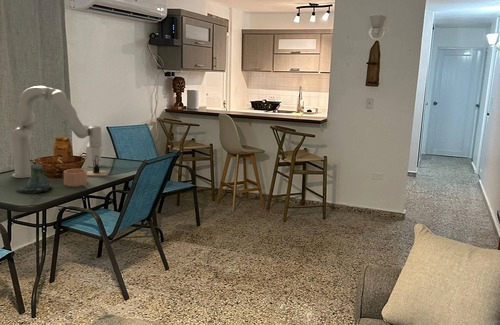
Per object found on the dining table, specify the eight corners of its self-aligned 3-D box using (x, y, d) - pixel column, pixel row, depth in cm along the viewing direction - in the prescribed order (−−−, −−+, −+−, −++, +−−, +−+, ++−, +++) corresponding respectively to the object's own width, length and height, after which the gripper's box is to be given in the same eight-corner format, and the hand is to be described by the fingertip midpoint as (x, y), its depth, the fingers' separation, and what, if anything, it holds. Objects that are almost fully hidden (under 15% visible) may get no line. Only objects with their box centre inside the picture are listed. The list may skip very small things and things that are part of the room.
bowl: (63, 181, 274) (63, 169, 272) (85, 180, 279) (85, 168, 278) (64, 186, 262) (64, 173, 261) (87, 185, 268) (87, 172, 266)
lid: (83, 172, 298) (83, 163, 297) (106, 171, 304) (106, 162, 303) (85, 177, 285) (84, 168, 283) (109, 176, 291) (109, 167, 289)
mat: (82, 173, 298) (82, 172, 298) (107, 171, 305) (107, 171, 305) (84, 178, 284) (84, 177, 284) (110, 177, 291) (110, 176, 290)
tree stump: (42, 184, 267) (46, 157, 262) (57, 199, 256) (61, 171, 250) (10, 187, 254) (13, 159, 248) (24, 203, 242) (28, 174, 236)
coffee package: (66, 169, 305) (65, 138, 301) (52, 168, 309) (50, 137, 304) (76, 167, 314) (75, 136, 310) (62, 165, 318) (60, 135, 314)
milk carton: (95, 167, 315) (94, 141, 312) (86, 166, 317) (85, 140, 314) (101, 165, 322) (100, 140, 318) (93, 164, 324) (92, 139, 320)
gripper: (88, 142, 296) (89, 168, 300) (90, 147, 281) (91, 174, 285) (100, 142, 299) (100, 168, 303) (102, 146, 284) (103, 173, 288)
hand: (96, 171), depth 294 cm, fingers open, 6 cm apart
